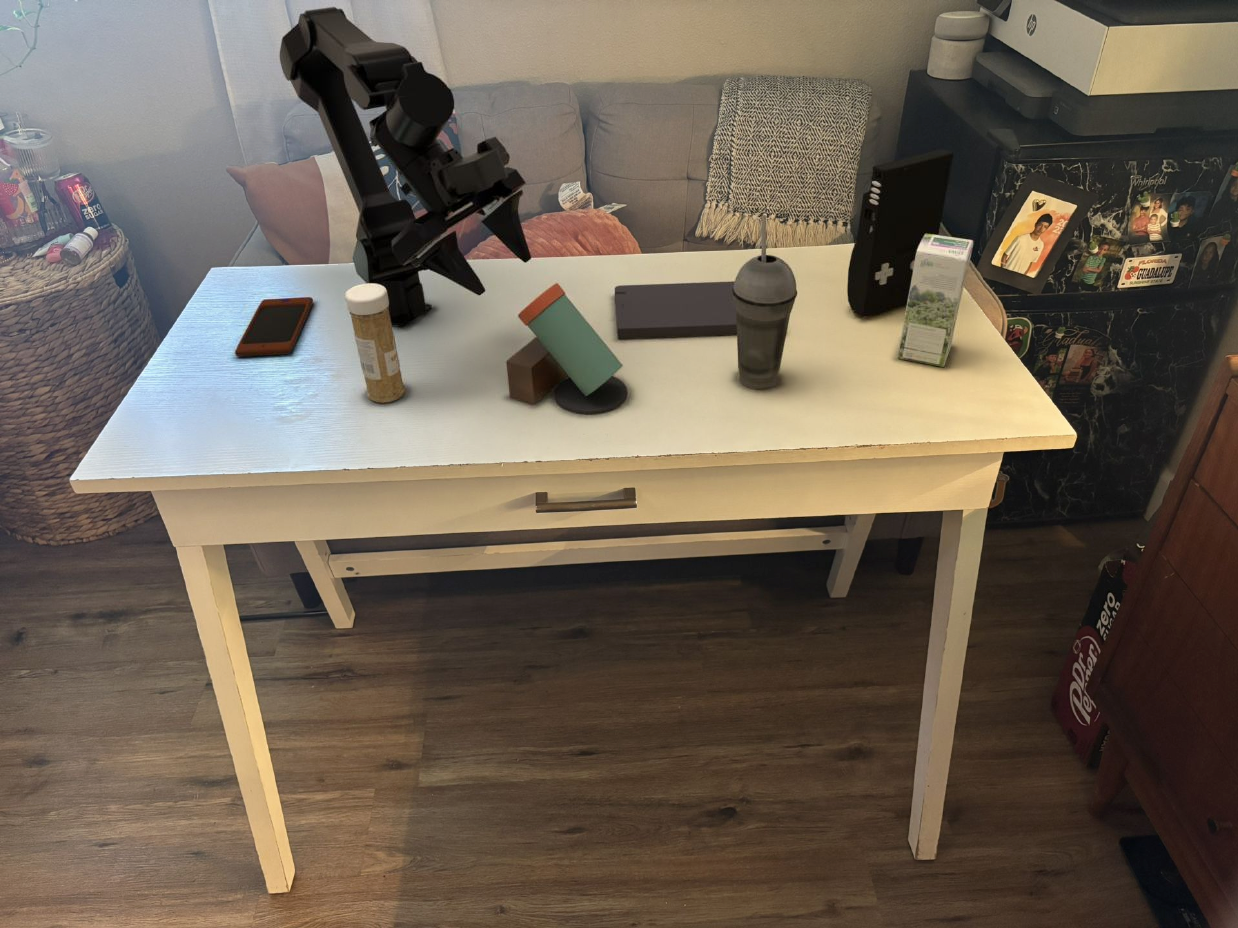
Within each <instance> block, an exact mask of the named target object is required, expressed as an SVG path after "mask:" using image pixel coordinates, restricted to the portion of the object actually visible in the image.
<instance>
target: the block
mask: <svg viewBox="0 0 1238 928" xmlns="http://www.w3.org/2000/svg"><path fill="white" fill-rule="evenodd" d="M505 365H506V366H505V367H506V374H507V382H508V383H507V384H508V394H509V398H510V399H513V400H517V401H519V402H523V403H526V404H530V405H536V404H537V403H538V402H540V401H541V400H542V399H543V398H544V397H545V396H546V395H547V394H549V393H550V392H551V391H552V390H553V389H555V388H556V387H557V385H558V384H559V383H560V382H562V381H563V380H565V379H566V378H568V377H569V376H568V374H567V373H566V372H565V371H564V370H563V368H562V367H561V366H560V365H559V364H558V362H557V361H556V360H555V359H554V357H553V356H552V355H551V354H550V353H549V351H548V350H547V349H546V348H545V347H544V345H543V344H542V343H541V342H540V341H539V339H538V338H537V337H536V336H535V337H534V338H533V339H532V340H531V341H529V342H528V343H527V344H526V345H523V347H522V348H520V349H519V350H517V351H516V352H515V353H514V354H512V356H510V357H509V358H507V360H505Z"/></svg>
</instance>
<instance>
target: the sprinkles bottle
mask: <svg viewBox="0 0 1238 928" xmlns="http://www.w3.org/2000/svg"><path fill="white" fill-rule="evenodd" d="M344 297H345V298H344V299H345V303H346V309H347V311H348V313H349V314H350V319H351V323H352V328H353V335H354V339H355V345H356V349H357V353H358V357H359V362H360V367H361V371H362V374H363V376H364V382H365V386H366V396H367V398H368V399H369V400H370V401H372V402H376V403H381V404H384V403H391V402H395V401H396V400H398V399H400V398H402V396H404V394H405V392H406V387H405V384H404V380H403V376H402V371H401V362H400V359H399V353H398V349H397V344H396V339H395V334H394V330H393V325H391V320H390V315H389V309H388V307H389V306H388V305H389V299H388V294H387V290H386V288H385V287H384V286H382V285H379V284H373V283H368V284H367V283H362V284H358V285H355V286H352V287H351V288H349V289H348V290H347V291H346V292H345V294H344Z"/></svg>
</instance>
